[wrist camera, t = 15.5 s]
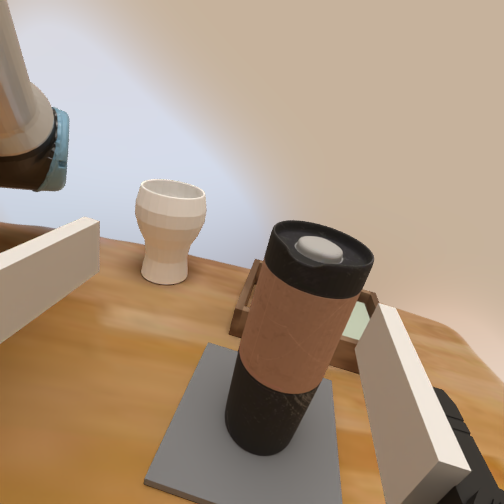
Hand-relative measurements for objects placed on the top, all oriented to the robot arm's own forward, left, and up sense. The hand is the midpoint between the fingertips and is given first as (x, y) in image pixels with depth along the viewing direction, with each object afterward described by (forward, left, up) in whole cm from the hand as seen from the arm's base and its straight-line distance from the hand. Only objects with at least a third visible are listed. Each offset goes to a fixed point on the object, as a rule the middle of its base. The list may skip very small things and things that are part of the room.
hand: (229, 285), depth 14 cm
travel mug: (0, +10, -20) cm, 22 cm away
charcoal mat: (0, +10, -20) cm, 23 cm away
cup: (-29, +19, -21) cm, 40 cm away
